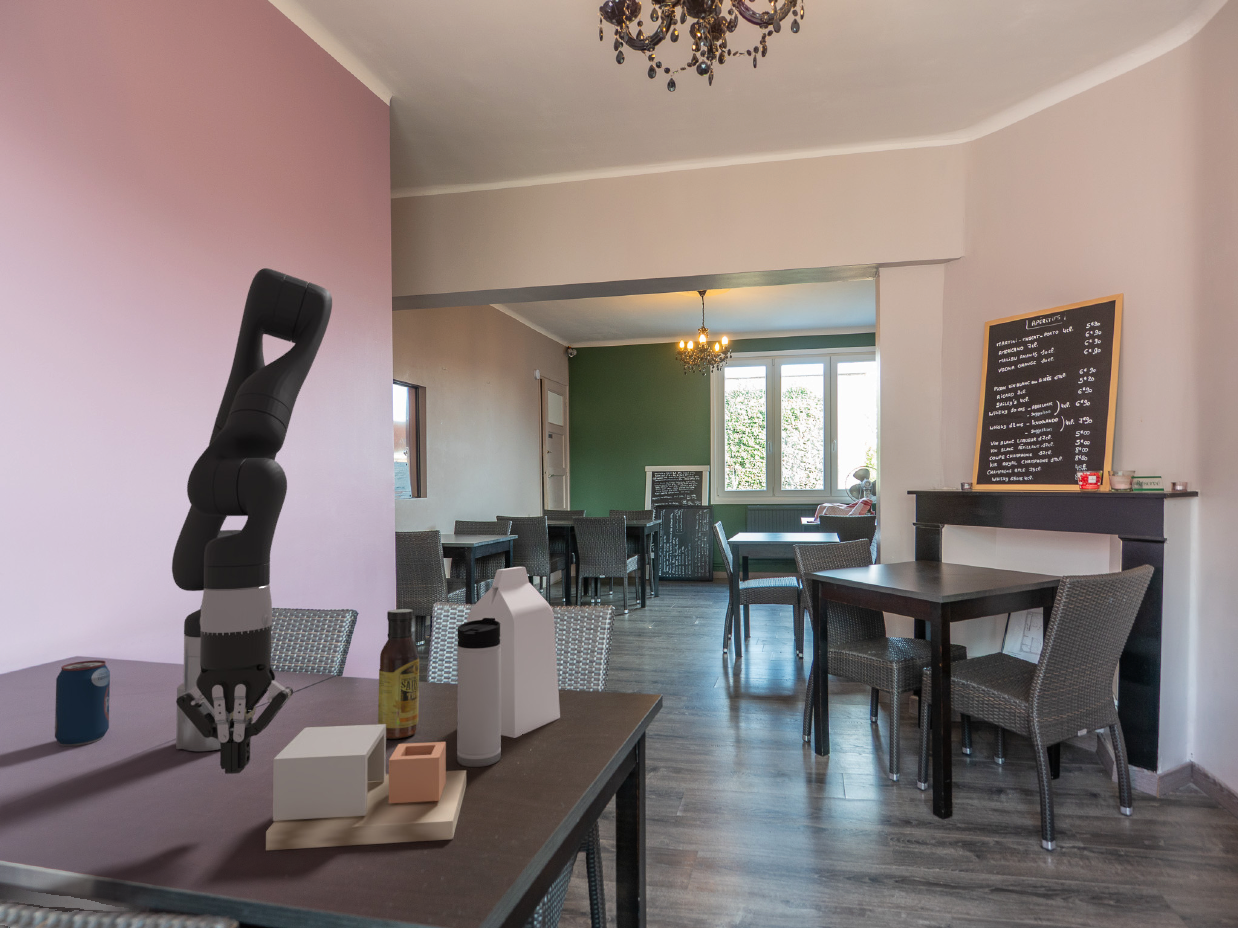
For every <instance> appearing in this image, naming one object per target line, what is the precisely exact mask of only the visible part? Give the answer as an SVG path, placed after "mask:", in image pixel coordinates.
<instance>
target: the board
mask: <svg viewBox="0 0 1238 928" xmlns="http://www.w3.org/2000/svg"><path fill="white" fill-rule="evenodd" d="M466 787H467V770H465V769H464V770H446V783H445V786H444V788H443V791H442V794H441V797H440V800H439V801H423V802H405V803H389V773H386V778H385V780H384V781H370V782H367V813H366V815H365V816H347V817H330V818H312V819H294V820H276V821H273V823H272V824H271V825H270V826H269V827H268V829H267V830H266V832H265V851H277V850H278V851H279V850H291V849H293V850H295V849H296V850H297V849H311V848H313V849H314V848H325V847H326V848H327V847H329V848H331V847H343V846H344V847H345V846H358V845H359V846H362V845H376V844H377V845H378V844H393V843H395V844H396V843H397V844H398V843H411V842H413V843H414V842H425V841H427V842H428V841H429V842H430V841H443V840H453V839H454V837H455V836H454V835H455V832H456V831H455V830H456V827H457V823H458V820H459V815H460V811H461V807H462V805H463V800H464V796H465V792H466V789H467V788H466Z"/></svg>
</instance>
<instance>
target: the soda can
mask: <svg viewBox="0 0 1238 928" xmlns="http://www.w3.org/2000/svg"><path fill="white" fill-rule="evenodd" d="M60 669H61V670H60V672H59V674H58V675H57V677H56V679H55V681H56V683H55V713H54V720H55V721H54V738H55V740H56V741H57V743H58V744H59V745H60V746H63V747H77V746H78V747H79V746H83V745H88V744H92V743H95V742H98V741H100V740H102V739H104V737H105V735H106V734H107V732H108V730H109V729H110V694H111V693H110V690H111V689H110V687H111V686H110V685H111V684H110V680H111V671H110V669H109V668H108V666H107V662H106V660H101V659H99V660H94V659H93V660H83V661H76V662H71V663H66V664H64V665H62V666H61V668H60Z"/></svg>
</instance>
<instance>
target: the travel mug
mask: <svg viewBox="0 0 1238 928" xmlns="http://www.w3.org/2000/svg"><path fill="white" fill-rule="evenodd" d="M499 637H500V623H499V622H498V621H495V618H483V619H482V620H475V621H470V622H467V621H466V622H464V623H461V624H460V625H459V626H458V627H457V645H456V646H457V647H456V648H457V651H456V652H457V653H456V654H457V655H456V657H457V658H456V661H457V662H456V663H457V664H456V665H457V666H456V667H457V670H456V674H457V675H456V676H457V677H456V679H457V681H456V683H457V684H456V685H457V686H456V691H457V693H456V699H457V700H456V702H457V703H456V705H457V706H456V710H457V711H456V712H457V713H456V714H457V715H456V720H457V721H456V722H457V723H456V726H457V727H456V733H457V734H456V737H457V738H456V739H457V740H456V743H457V744H456V745H457V746H456V749H457V751H456V761H457V763H458V764H459V765H462V766H463V767H469V768H481V767H487V766H490V765H493V764H495V763H497V762H499V760H501V758H502V755H501V754H502V752H501V751H502V749H501V746H502V742H501V739H502V737H501V736H502V735H501V648H500V646H501V643H500V638H499Z"/></svg>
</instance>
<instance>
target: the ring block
mask: <svg viewBox="0 0 1238 928" xmlns="http://www.w3.org/2000/svg"><path fill="white" fill-rule="evenodd" d="M394 749H395V750H394V751H393V753H392V754H391V756H390V757H389V759H388V774H389V803H405V802H423V801H439V800H440V797H441V794H442V791H443V788H444V786H445V783H446V771H447V762H446V761H447V754H446V753H447V752H446V751H447V743H446V741H435V742H434V741H433V742H431V741H430V742H410V743H398V744H397V746H396V748H394Z"/></svg>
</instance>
